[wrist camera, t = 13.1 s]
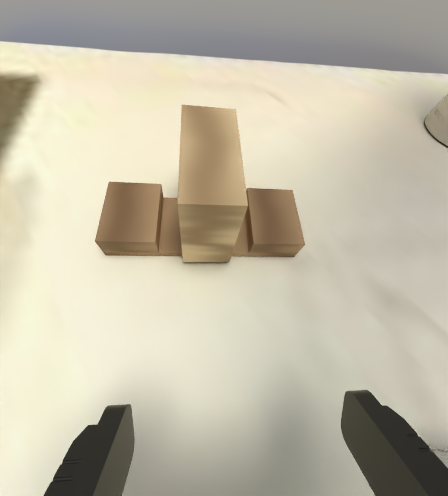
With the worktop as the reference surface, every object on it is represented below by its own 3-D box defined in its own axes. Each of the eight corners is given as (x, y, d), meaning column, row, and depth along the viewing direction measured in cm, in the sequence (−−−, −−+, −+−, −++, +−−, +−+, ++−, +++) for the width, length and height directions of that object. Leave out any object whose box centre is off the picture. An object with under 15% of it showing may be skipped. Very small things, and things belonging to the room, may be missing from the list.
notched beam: (283, 205, 25) (292, 190, 23) (293, 256, 22) (304, 244, 20) (117, 199, 23) (108, 181, 21) (105, 255, 20) (94, 241, 18)
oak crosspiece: (223, 183, 25) (235, 109, 18) (229, 261, 20) (248, 205, 13) (185, 182, 24) (181, 104, 17) (182, 261, 20) (177, 203, 13)
